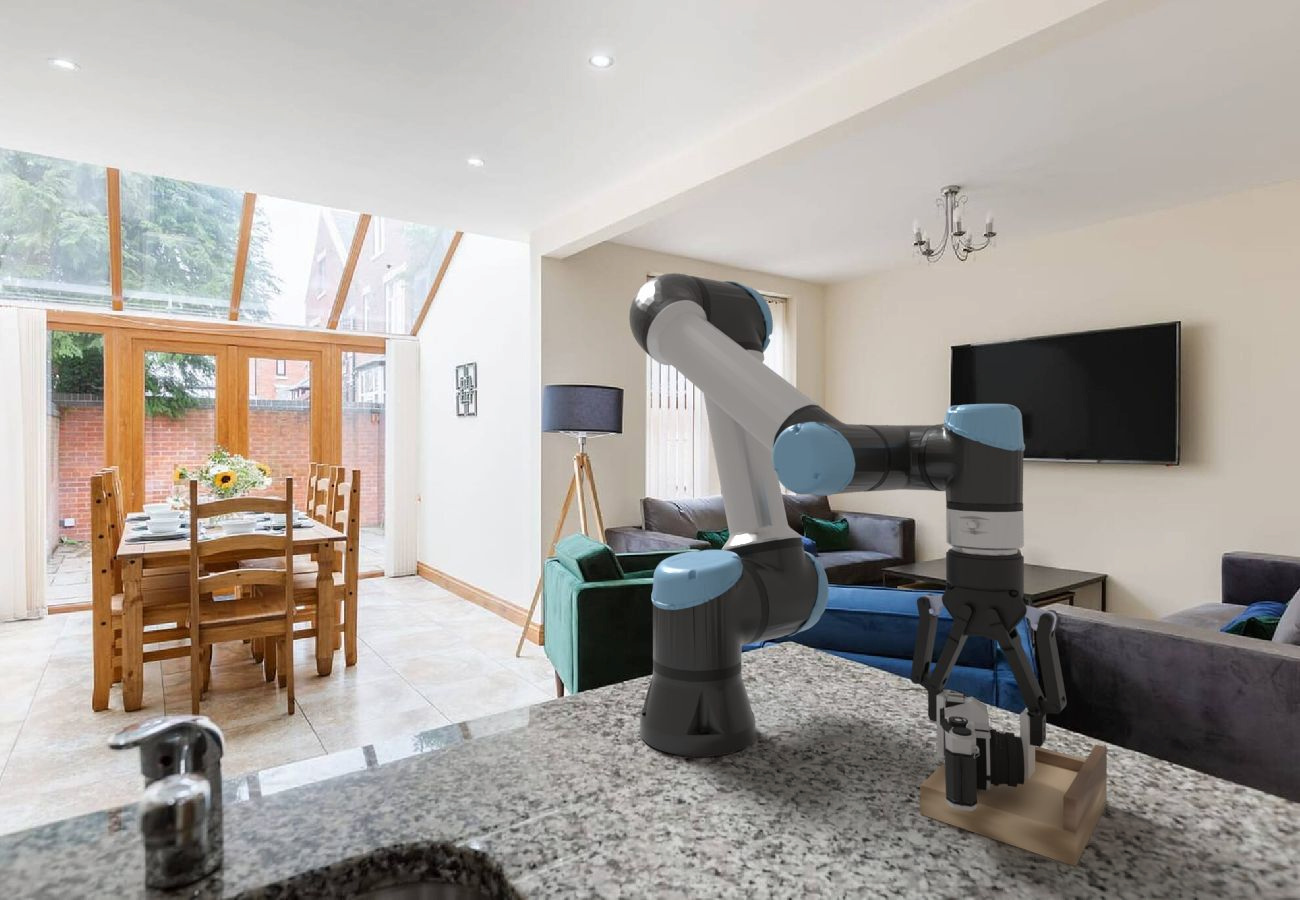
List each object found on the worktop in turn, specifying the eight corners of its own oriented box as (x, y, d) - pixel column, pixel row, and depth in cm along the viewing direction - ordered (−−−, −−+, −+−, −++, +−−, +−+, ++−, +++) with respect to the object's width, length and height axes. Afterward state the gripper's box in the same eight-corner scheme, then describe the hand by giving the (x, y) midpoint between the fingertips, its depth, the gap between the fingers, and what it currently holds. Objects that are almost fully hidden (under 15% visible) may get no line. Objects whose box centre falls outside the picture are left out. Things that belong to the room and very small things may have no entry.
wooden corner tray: (920, 814, 74) (920, 755, 74) (968, 765, 85) (968, 714, 85) (1075, 866, 65) (1075, 800, 65) (1106, 803, 76) (1106, 746, 76)
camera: (1036, 824, 65) (1036, 722, 66) (942, 809, 68) (943, 711, 68) (1013, 772, 77) (1013, 687, 78) (935, 762, 80) (935, 679, 80)
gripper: (876, 544, 81) (877, 747, 81) (1088, 563, 67) (1088, 807, 67) (903, 537, 86) (903, 727, 87) (1103, 554, 73) (1103, 779, 73)
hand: (984, 762), depth 77 cm, fingers closed on camera, 8 cm apart
